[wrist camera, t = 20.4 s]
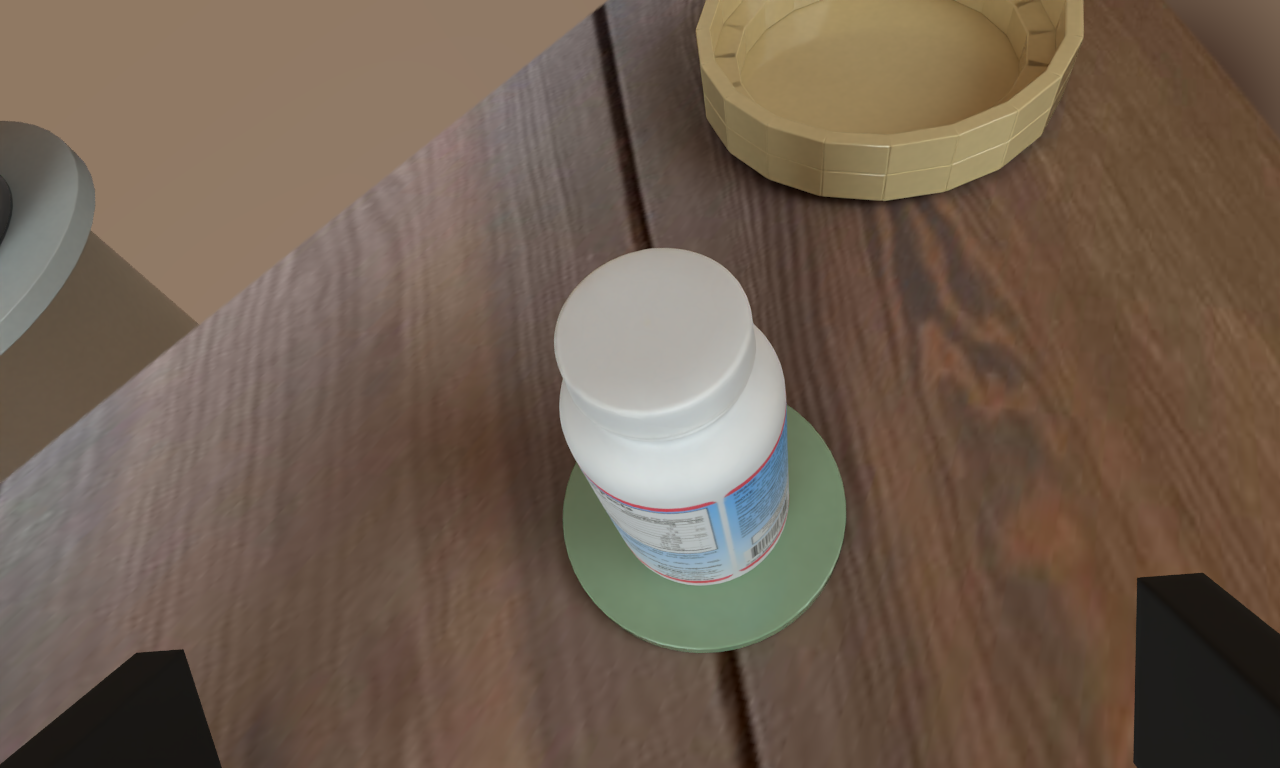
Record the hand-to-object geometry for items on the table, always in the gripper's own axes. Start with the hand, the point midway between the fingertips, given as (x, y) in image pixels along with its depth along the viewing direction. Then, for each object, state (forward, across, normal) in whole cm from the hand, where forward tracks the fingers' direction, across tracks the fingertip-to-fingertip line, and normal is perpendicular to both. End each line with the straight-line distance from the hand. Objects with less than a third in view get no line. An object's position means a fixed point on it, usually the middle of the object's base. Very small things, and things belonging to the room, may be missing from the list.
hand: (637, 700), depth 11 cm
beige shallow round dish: (+31, +10, +10) cm, 35 cm away
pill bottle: (+16, 0, -4) cm, 17 cm away
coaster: (+16, 0, -4) cm, 17 cm away
